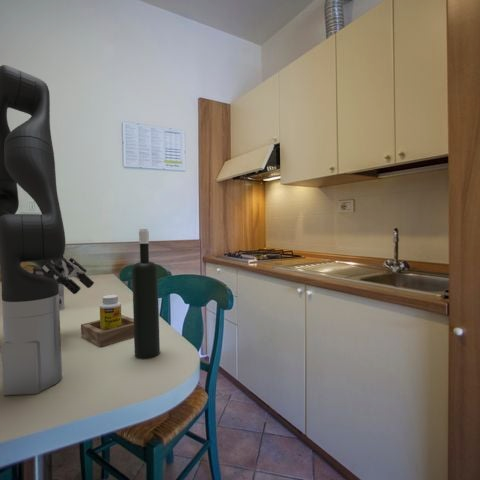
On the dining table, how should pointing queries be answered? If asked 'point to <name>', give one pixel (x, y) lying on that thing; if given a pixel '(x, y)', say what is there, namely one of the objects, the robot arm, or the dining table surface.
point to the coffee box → (61, 287)
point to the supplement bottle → (110, 313)
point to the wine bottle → (145, 302)
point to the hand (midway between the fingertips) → (85, 288)
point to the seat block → (108, 332)
